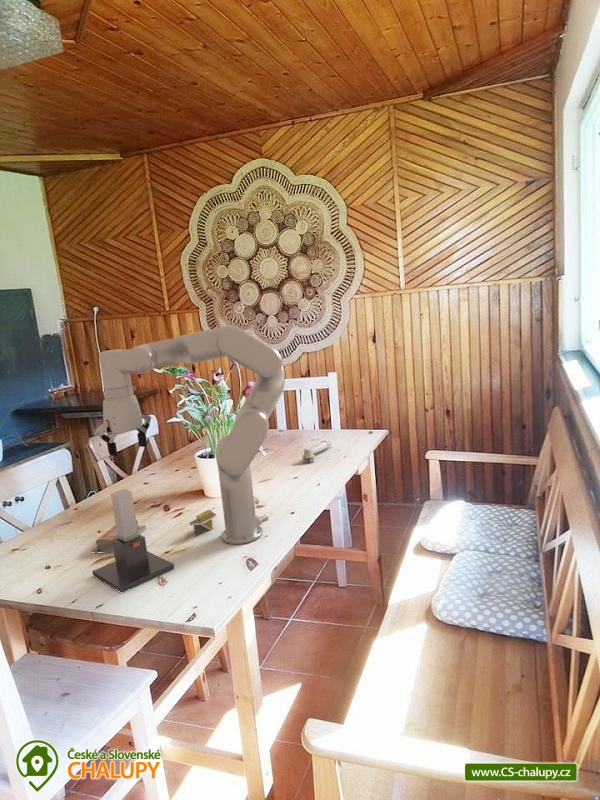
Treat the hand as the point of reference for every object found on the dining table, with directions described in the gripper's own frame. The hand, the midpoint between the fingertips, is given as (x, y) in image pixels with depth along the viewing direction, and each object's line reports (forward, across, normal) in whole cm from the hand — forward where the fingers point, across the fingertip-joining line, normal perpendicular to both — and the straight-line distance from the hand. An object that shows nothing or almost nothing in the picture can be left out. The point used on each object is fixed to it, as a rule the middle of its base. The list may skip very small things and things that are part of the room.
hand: (128, 450), depth 167 cm
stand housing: (+31, +10, +10) cm, 34 cm away
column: (+24, +10, +10) cm, 28 cm away
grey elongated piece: (+32, -100, -17) cm, 107 cm away
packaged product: (+32, 0, -14) cm, 35 cm away
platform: (+32, -19, +6) cm, 37 cm away
